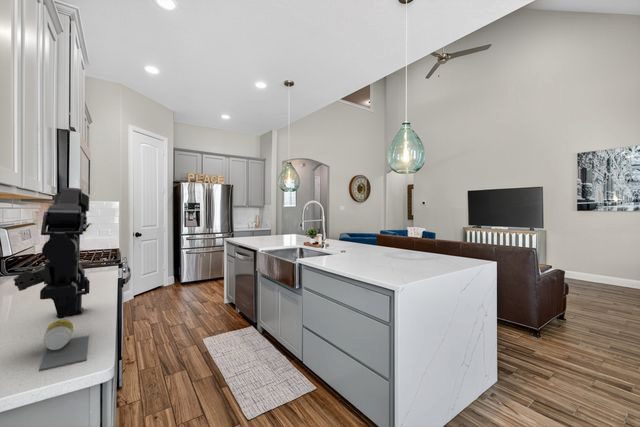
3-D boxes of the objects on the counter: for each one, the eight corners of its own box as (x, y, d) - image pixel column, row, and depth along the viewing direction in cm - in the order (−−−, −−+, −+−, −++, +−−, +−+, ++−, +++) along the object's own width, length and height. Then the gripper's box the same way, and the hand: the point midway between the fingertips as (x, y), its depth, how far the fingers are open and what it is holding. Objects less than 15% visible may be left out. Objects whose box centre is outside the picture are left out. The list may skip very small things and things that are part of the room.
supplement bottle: (42, 337, 75) (36, 351, 67) (53, 317, 76) (48, 328, 68) (67, 340, 78) (64, 354, 70) (77, 320, 79) (75, 331, 71)
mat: (49, 344, 74) (49, 342, 74) (88, 336, 79) (88, 335, 79) (38, 371, 62) (38, 369, 62) (86, 360, 67) (86, 358, 67)
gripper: (26, 254, 75) (24, 313, 75) (8, 264, 61) (5, 338, 61) (81, 252, 82) (79, 306, 82) (76, 260, 68) (74, 327, 67)
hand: (61, 317), depth 73 cm, fingers closed
